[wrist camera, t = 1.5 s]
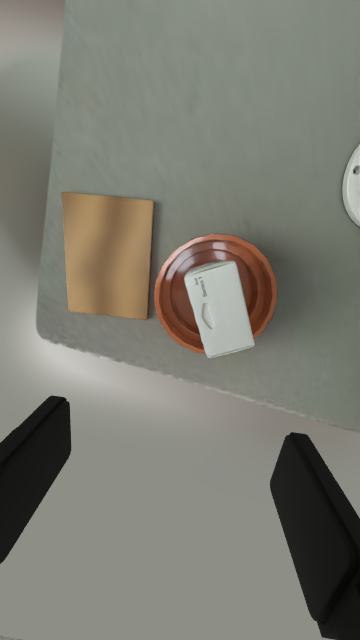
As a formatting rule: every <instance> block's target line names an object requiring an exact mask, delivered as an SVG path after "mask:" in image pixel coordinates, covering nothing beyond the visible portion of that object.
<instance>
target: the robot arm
mask: <svg viewBox="0 0 360 640" xmlns="http://www.w3.org/2000/svg"><path fill="white" fill-rule="evenodd" d="M342 191H343V201H344V205H345V208H346V211H347V213H348V215H349V216H350V218H351V219H352V220H353V221H354V223H355V224H357V225H358V226H359V227H360V144H359V145H358V147H357V148H356V150H355V151H354V152H353V154H352V156H351V158H350V160H349V162H348V165H347V168H346V171H345V174H344V179H343V186H342ZM70 452H71V431H70V404H69V402H67V401H66V398H64V397H58V396H50V397H49V398H47V399H46V401H44V402H43V403H42V404H41V405H40V406H39V407H38V408H37V409H36V410H35V411H34V412H33V413H32V414H31V415H30V416H29V417H28V418H27V419H26V420H25V421H24V422H23V423H22V424H21V425H20V426H19V427H17V428H16V429H14V430H13V431H12V432H11V433H10V434H9V435H8V436H7V437H6V438H5V439H4V440H3V441H2V442H1V443H0V564H1V563H2V562H3V561H4V560H5V558H6V557H7V555H8V554H9V552H10V551H11V549H12V548H13V546H14V544H15V543H16V541H17V539H18V538H19V536H20V535H21V533H22V532H23V530H24V528H25V527H26V525H27V523H28V522H29V520H30V519H31V517H32V515H33V514H34V512H35V511H36V509H37V508H38V506H39V504H40V503H41V501H42V499H43V498H44V496H45V495H46V493H47V491H48V490H49V488H50V487H51V485H52V483H53V482H54V480H55V478H56V477H57V475H58V474H59V472H60V471H61V469H62V467H63V466H64V464H65V463H66V461H67V459H68V458H69V455H70ZM270 489H271V493H272V496H273V499H274V503H275V506H276V508H277V512H278V515H279V518H280V521H281V524H282V528H283V531H284V534H285V537H286V540H287V544H288V546H289V550H290V553H291V556H292V559H293V563H294V566H295V569H296V572H297V575H298V578H299V581H300V585H301V588H302V591H303V594H304V597H305V600H306V604H307V607H308V610H309V612H310V615H311V617H312V618H313V619H314V620H315V621H317V623H318V626H319V629H320V633H321V635H322V637H323V638H329V639H335V640H360V518H359V517H358V515H357V513H356V512H355V510H354V509H353V507H352V505H351V504H350V502H349V500H348V499H347V497H346V496H345V494H344V492H343V491H342V489H341V488H340V486H339V484H338V483H337V481H336V480H335V478H334V477H333V475H332V473H331V472H330V470H329V469H328V467H327V465H326V464H325V462H324V461H323V459H322V457H321V456H320V454H319V453H318V451H317V449H316V448H315V446H314V444H313V443H312V441H311V440H310V438H309V437H308V435H306V434H300V433H294V432H291V433H290V435H287V436H286V437H285V440H284V443H283V445H282V448H281V451H280V454H279V457H278V460H277V463H276V466H275V469H274V472H273V475H272V478H271V481H270ZM0 640H19V639H14V638H9V637H3V636H0Z"/></svg>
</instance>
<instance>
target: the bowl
mask: <svg viewBox="0 0 360 640" xmlns="http://www.w3.org/2000/svg"><path fill="white" fill-rule="evenodd" d="M216 260H227V261H235V262H236V265H237V269H238V273H239V277H240V281H241V286H242V290H243V295H244V299H245V304H246V308H247V312H248V317H249V322H250V326H251V330H252V335H253V339H255V338H256V337H258V336H259V335H260V334H261V333H262V332H263V331H264V329H265V328H266V326H267V324H268V323H269V321H270V319H271V318H272V316H273V313H274V309H275V305H276V300H277V286H276V277H275V274H274V272H273V270H272V268H271V266H270V264H269V261H268V259H267V258H266V257H265V256H264V255H263V254H262V253H261V252H260V251H259V250H258V249H257V248H256V247H255V246H254V245H253V244H251V243H249V242H247V241H245V240H243V239H240V238H238V237H236V236H233V235H223V234H210V235H206V236H201V237H197V238H193V239H191V240H190V241H188V242H187V243H185V244H183V245H182V246H180V247H179V248H177V249H176V250H175V251H174V252H173V253H172V254H171V255H170V257H169V258H168V259H167V260H166V261H165V263H164V264H163V265H162V268H161V270H160V273H159V275H158V278H157V280H156V283H155V297H154V303H155V307H156V311H157V315H158V319H159V321H160V322H161V324H162V325H163V327H164V329H165V330H166V332H167V333H168V335H169V336H171V337H172V338H173V339H174V340H175V341H177V342H178V343H179V344H180V345H181V346H183V347H186V348H188V349H190V350H193V351H195V352H198V353H205V350H204V346H203V343H202V340H201V336H200V332H199V328H198V325H197V323H196V319H195V316H194V311H193V308H192V305H191V302H190V299H189V295H188V291H187V288H186V284H185V280H184V278H185V275H186V273H187V272H188V270H189V269H190V268H193V267H196V266H199V265H202V264H205V263H208V262H212V261H216ZM205 354H206V353H205Z"/></svg>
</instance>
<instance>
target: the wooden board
mask: <svg viewBox="0 0 360 640" xmlns="http://www.w3.org/2000/svg"><path fill="white" fill-rule="evenodd" d="M62 207H63V224H64V242H65V259H66V276H67V294H68V311H72V312H81V313H90V314H99V315H108V316H117V317H126V318H135V319H144V320H147V319H148V308H149V290H150V272H151V254H152V236H153V218H154V201H153V200H142V199H131V198H121V197H110V196H99V195H89V194H78V193H67V192H62Z"/></svg>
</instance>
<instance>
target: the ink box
mask: <svg viewBox="0 0 360 640" xmlns="http://www.w3.org/2000/svg"><path fill="white" fill-rule="evenodd" d="M184 280H185V284H186V288H187V291H188V295H189V299H190V302H191V305H192V308H193V311H194V316H195V319H196V323H197V325H198V328H199V332H200V336H201V340H202V343H203V346H204V350H205V353H206V354H207V357H208V358H214V357H217V356H221V355H226V354H230V353H234V352H238V351H241V350H245V349H248V348H251V347H253V346H254V345H255V343H254V339H253V335H252V330H251V326H250V322H249V317H248V312H247V308H246V304H245V299H244V295H243V290H242V286H241V281H240V277H239V273H238V269H237V265H236V262H235V261H227V260H216V261H212V262H208V263H205V264H202V265H199V266H196V267H193V268H190V269H189V270H188V272H187V273H186V275H185V278H184Z"/></svg>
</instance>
